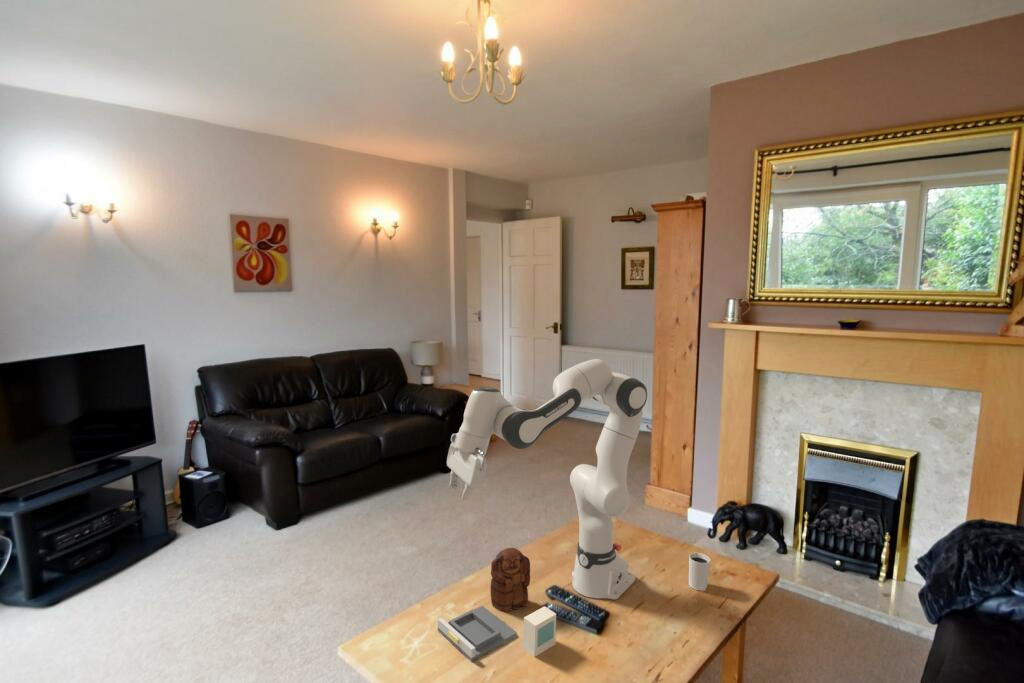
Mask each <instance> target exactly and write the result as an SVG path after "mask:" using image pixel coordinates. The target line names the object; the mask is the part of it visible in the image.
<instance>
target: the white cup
mask: <svg viewBox="0 0 1024 683" xmlns="http://www.w3.org/2000/svg"><path fill="white" fill-rule="evenodd" d="M710 565H711V558H710V557H709V556H708V555H707V554H704V553H700V552H692V553H690V554H689V556H688V586H689V585H690V586H689V588H690V587H692V588H694V589H697V590H704V589H706V588H707V589H708V582H709V576H710V574H709V573H710V569H711V568H710ZM692 588H691V589H692ZM707 589H706V590H707Z"/></svg>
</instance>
